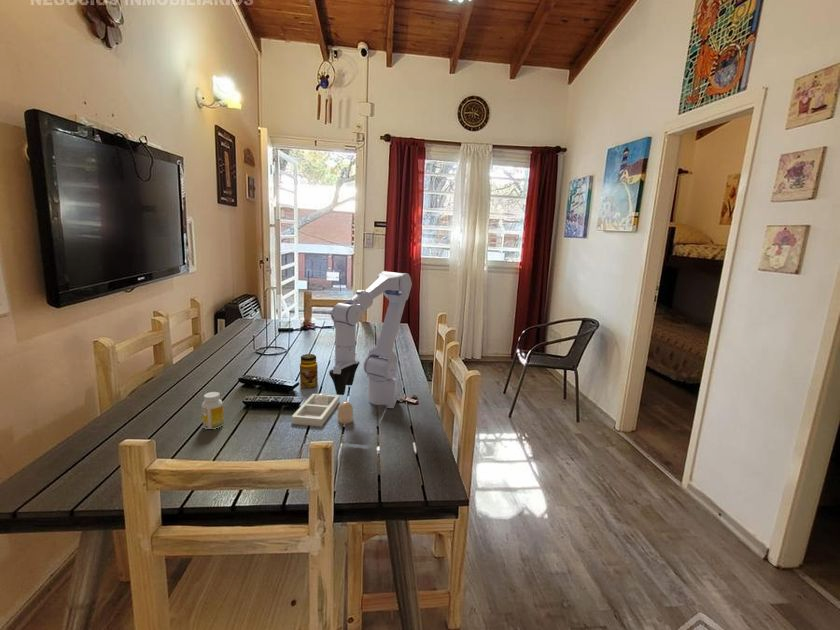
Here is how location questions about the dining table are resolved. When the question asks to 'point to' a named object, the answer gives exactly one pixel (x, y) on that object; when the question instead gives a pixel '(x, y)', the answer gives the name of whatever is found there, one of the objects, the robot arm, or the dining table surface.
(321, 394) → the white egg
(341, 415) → the brown egg
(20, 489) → the dining table surface
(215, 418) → the supplement bottle
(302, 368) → the condiment
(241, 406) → the dining table surface
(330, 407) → the holder
